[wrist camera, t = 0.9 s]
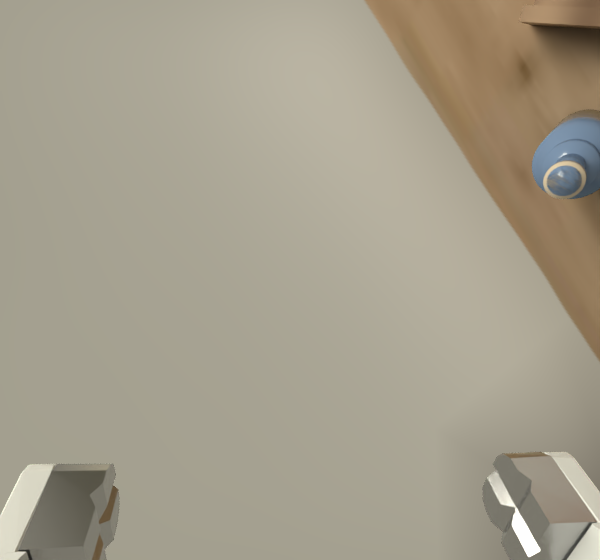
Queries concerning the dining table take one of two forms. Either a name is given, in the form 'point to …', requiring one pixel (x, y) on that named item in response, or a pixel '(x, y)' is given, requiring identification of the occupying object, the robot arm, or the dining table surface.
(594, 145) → the bottle
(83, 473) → the robot arm
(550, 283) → the dining table surface
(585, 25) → the holder
